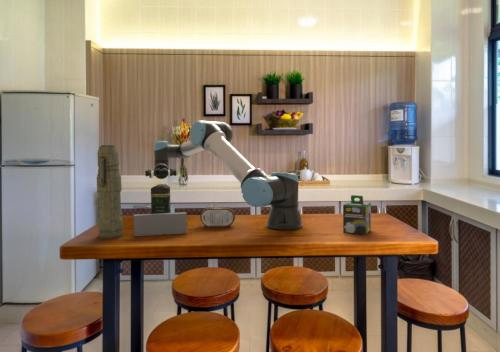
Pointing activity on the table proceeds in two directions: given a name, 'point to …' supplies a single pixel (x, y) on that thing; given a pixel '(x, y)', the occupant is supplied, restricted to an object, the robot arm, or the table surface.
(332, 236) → the table surface
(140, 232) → the board
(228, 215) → the tin
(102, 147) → the carved stone statue
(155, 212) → the coffee jar
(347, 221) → the chalk box
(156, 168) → the robot arm
